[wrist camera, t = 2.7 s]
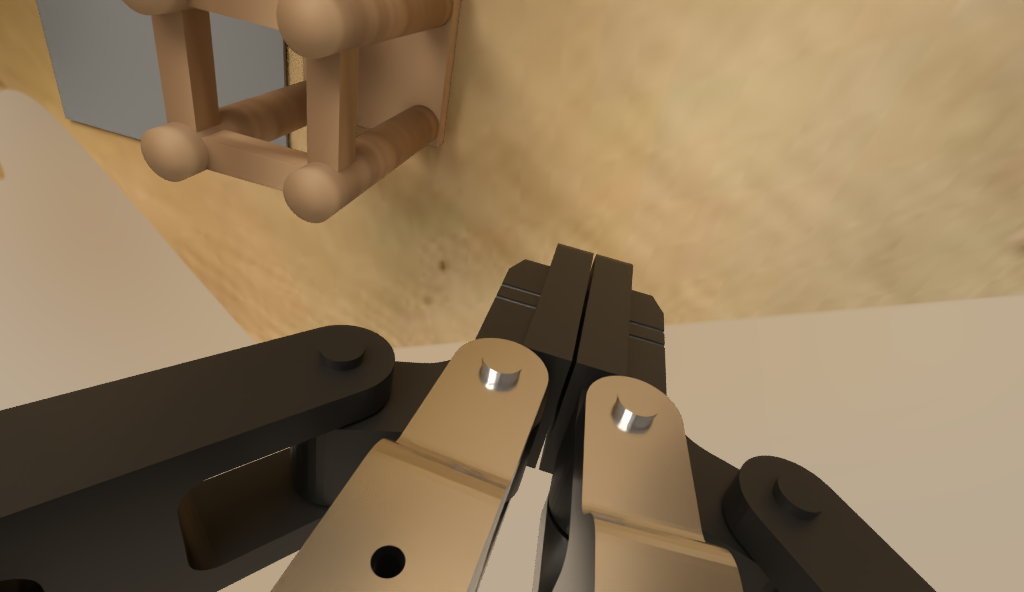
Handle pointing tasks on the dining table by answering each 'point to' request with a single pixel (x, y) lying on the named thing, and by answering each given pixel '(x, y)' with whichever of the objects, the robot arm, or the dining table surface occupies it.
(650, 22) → the dining table surface
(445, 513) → the robot arm
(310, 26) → the wooden dowel frame
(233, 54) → the mat
